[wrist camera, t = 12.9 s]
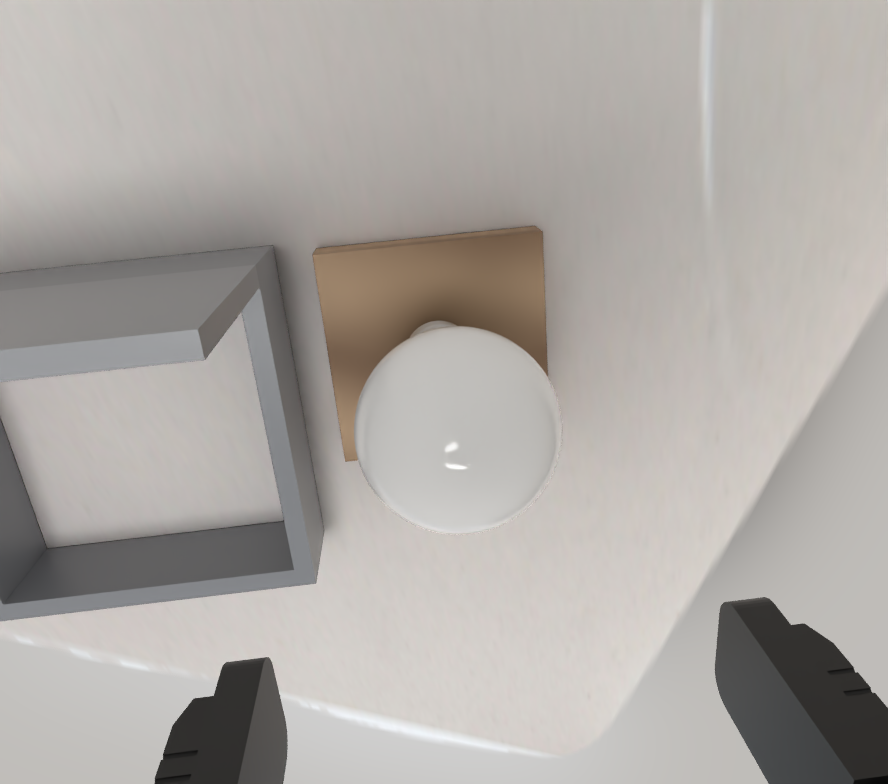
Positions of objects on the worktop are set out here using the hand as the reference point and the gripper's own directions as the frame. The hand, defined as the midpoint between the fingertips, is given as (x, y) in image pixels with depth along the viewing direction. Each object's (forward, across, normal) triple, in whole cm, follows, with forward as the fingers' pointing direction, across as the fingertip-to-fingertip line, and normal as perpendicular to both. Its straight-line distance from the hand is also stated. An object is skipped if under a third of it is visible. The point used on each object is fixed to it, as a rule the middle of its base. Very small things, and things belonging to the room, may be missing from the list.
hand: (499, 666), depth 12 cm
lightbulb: (+18, 0, 0) cm, 18 cm away
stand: (+19, 0, 0) cm, 19 cm away
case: (+19, +13, +2) cm, 23 cm away
